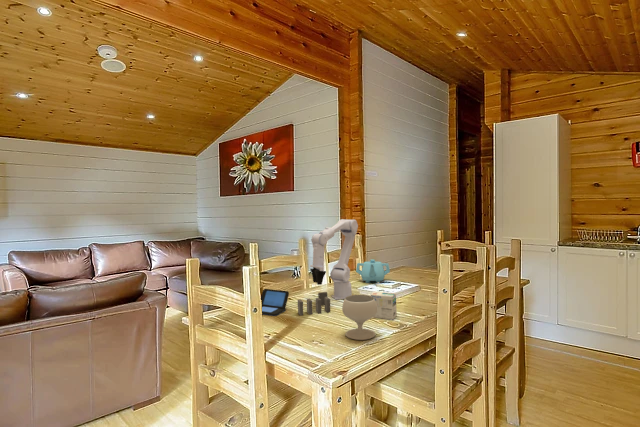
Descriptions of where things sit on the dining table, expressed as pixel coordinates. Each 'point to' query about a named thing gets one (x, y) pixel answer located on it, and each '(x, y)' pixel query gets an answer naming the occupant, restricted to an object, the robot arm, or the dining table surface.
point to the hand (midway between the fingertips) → (317, 283)
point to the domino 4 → (322, 297)
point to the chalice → (359, 314)
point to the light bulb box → (385, 304)
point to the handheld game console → (274, 301)
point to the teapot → (372, 270)
